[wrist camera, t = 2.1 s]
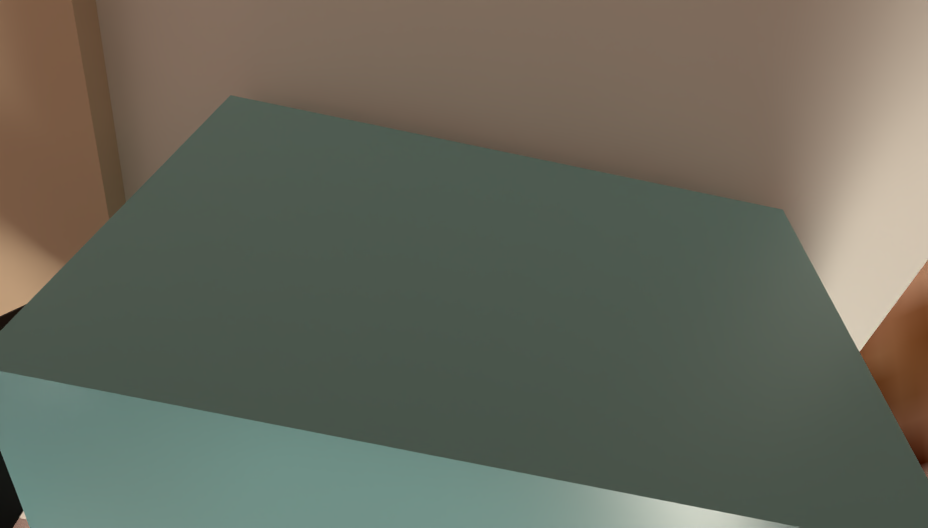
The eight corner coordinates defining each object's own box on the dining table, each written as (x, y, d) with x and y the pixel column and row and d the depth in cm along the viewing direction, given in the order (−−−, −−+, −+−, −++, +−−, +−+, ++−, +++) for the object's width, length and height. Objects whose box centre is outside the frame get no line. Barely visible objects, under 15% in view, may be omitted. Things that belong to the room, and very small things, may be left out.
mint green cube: (782, 209, 7) (971, 560, 4) (612, 520, 11) (640, 837, 8) (231, 94, 7) (-33, 365, 4) (243, 448, 11) (111, 741, 7)
